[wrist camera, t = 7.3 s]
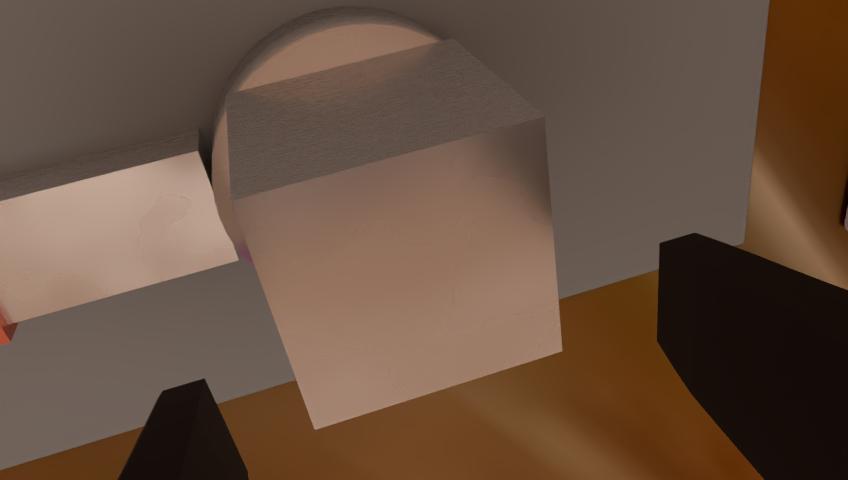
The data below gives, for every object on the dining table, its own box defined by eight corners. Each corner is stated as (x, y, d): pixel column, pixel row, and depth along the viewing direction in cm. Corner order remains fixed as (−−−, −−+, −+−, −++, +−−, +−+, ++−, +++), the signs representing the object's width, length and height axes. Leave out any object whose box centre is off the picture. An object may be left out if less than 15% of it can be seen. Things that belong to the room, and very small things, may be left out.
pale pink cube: (452, 38, 15) (544, 116, 11) (480, 229, 18) (562, 350, 14) (225, 94, 14) (230, 200, 10) (289, 284, 17) (314, 429, 13)
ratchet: (463, -24, 16) (548, 24, 12) (494, 223, 20) (568, 324, 16) (-540, 211, 14) (-867, 376, 10) (-288, 446, 17) (-443, 639, 13)
